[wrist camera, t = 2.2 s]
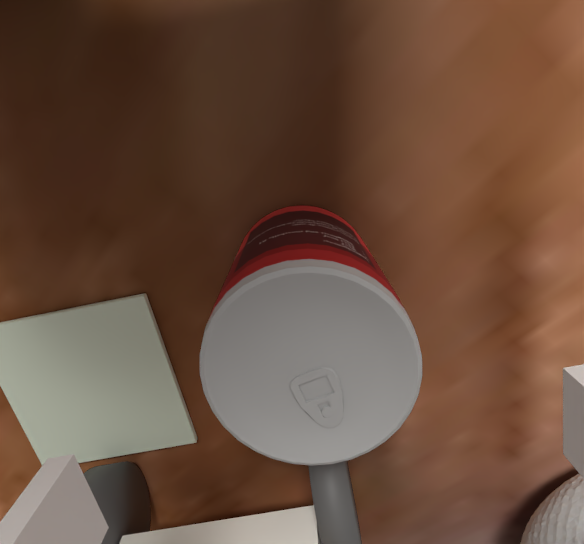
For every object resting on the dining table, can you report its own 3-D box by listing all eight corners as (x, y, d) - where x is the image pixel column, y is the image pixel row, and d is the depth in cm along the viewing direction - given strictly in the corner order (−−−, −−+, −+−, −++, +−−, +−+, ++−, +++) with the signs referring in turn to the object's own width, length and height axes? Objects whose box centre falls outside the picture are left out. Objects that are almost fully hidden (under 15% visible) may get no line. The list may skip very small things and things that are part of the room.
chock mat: (-25, 327, 26) (-29, 330, 25) (145, 293, 25) (143, 295, 24) (47, 464, 29) (44, 469, 29) (197, 438, 28) (196, 442, 28)
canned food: (294, 351, 26) (295, 500, 16) (208, 257, 24) (145, 357, 14) (395, 281, 25) (470, 395, 14) (313, 173, 22) (331, 214, 12)
